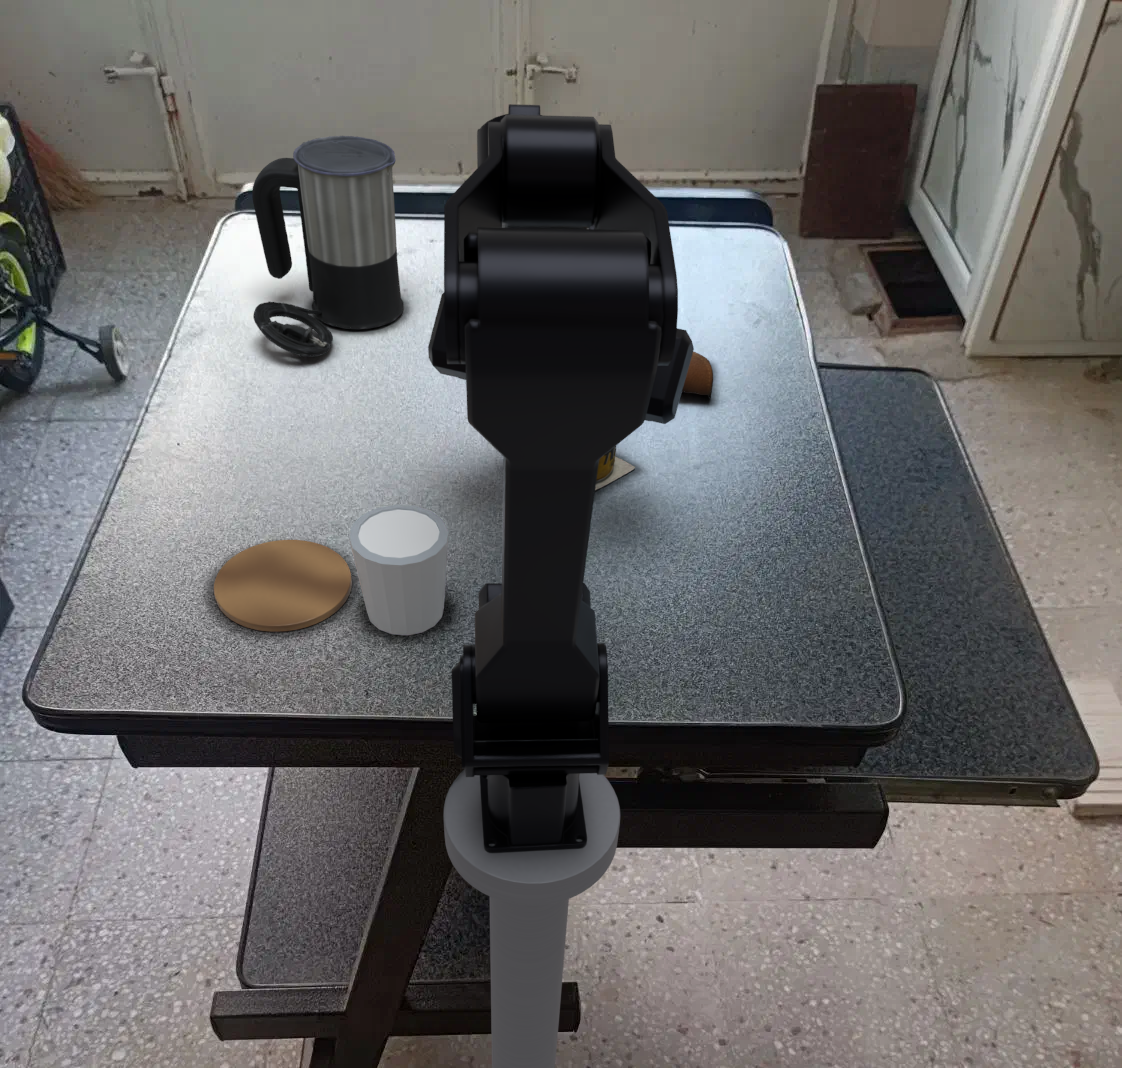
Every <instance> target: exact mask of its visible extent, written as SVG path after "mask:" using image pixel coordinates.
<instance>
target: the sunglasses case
mask: <svg viewBox="0 0 1122 1068" xmlns="http://www.w3.org/2000/svg"><path fill="white" fill-rule="evenodd" d="M713 386H714V371H713V367H712V364H711V362H710V360H709V359H708V358H707V357H706V356H704V355H702V354H700V353H698V352H696V351H694V350H693V354H692V357H691V361H690V364H689V368H688V372H687V375H686V379H685V382H684V386H683V390H682V393H687V394H696V395H700V396H707V397H708V398H709V399H710V400H711V399H712V393H713Z"/></svg>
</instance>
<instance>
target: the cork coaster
mask: <svg viewBox="0 0 1122 1068" xmlns="http://www.w3.org/2000/svg"><path fill="white" fill-rule="evenodd" d="M352 580H353V579H352V573H351V569H350V567H349V565H348V563H347V562H346V559H344V557H342V556H341V555H340V554H339V553H338V552H336V551H335V550H334V549H333V548H330V547H328V546H325V545H323V544H320V543H318V542H313V541H309V540H305V539H304V540H303V539H279V540H271V541H267V542H261V543H258V544H256V545H253V546H250V547H247V548H245V549H244V550H241V551H240V552H239V553H236V554H234V555H233V556H232V557H231V558H229V559H228V560H227V561H226V562H225V563H224V564H223V565H222V567H221V568H220V569H219V571H218V572H217V574H216V576H215V580H214V583H213V594H214V598H215V601H216V604H217V606H218V608H219V610H220V611H221V612H222V614H224V616H226V618H228V619H229V620H230V621H232V622H233V623H235V624H238V625H240V626H242V627H244V628H248V629H251V630H254V631H255V630H256V631H261V632H271V633H273V632H277V633H281V632H291V631H297V630H301V629H305V628H308V627H312V626H314V625H317V624H319V623H321V622H323V621H325V620H327V619H329V618H330V617H331V616H333V615H334V614H335V613H337V612H338V611H339V610H340V609H341V608H342V607H343V605H344V604H345V603H346V602H347V600H348V598H349V597H350V594H351V592H352V587H353V581H352Z"/></svg>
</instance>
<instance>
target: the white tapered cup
mask: <svg viewBox="0 0 1122 1068" xmlns="http://www.w3.org/2000/svg"><path fill="white" fill-rule="evenodd" d="M449 538H450V530H449V528H448V525H447V524H446V521H445V520H444V519H443V518H442V517H441V516H440V515H438V514H437V513H435V512H434V511H433V510H431V509H428V508H425V507H422V506H418V505H414V504H402V503H401V504H400V503H395V504H389V505H385V506H383V505H382V506H378V507H376V508H373V509H371V510H370V511H367V512H365V513H363V514H361V515H360V516H359V517H358V518H357V519H356V520H355V521H354V522H353V523H352V524H351V526H350V531H349V534H348V540H349V544H350V548H351V552H352V556H353V561H354V564H355V569H356V573H357V577H358V580H359V585H360V589H361V594H362V598H363V601H364V605H365V610H366V614H367V617H368V619H369V622H370V623H371V624H372V625H373V626H375V627H376V629H378V630H379V631H382V632H384V633H387V634H390V635H395V636H396V635H398V636H412V635H416V634H422V633H425V632H426V631H428V630H430V629H432V628H433V627H435V626H436V625H437V624H438V622H439V621H441V619H442V618H443V614H444V610H445V609H444V608H445V599H446V598H445V597H446V585H447V584H446V583H447V581H446V580H447V568H448V555H449V553H448V552H449Z"/></svg>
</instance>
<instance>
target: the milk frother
mask: <svg viewBox="0 0 1122 1068" xmlns="http://www.w3.org/2000/svg"><path fill="white" fill-rule="evenodd" d="M395 163H396V155H395V151H394V150H393V148H392V147H390V146H389V145H388V144H387V143H385V142H382V141H378V140H377V139H373V138H367V137H362V136H355V135H329V136H324V137H323V136H322V137H317V138H313V139H310V140H307V141H304V142H302V143H301V144H300V145H299V146H297V147H296V148H295V149H294V151H293V153H292V157H280V158H277V159H275V160H272V161H270V162H269V163H268V164H267V165H265V166H264V167H263V168H262V169H261V170H260V172H259V173H258V174H257V176H256V177H255V180H254V182H253V185H252V192H251V193H252V194H251V197H252V204H253V208H254V212H255V216H256V223H257V227H258V232H259V236H260V241H261V245H262V249H263V250H262V251H263V254H264V258H265V263H266V267H267V271H268V273H269V275H270V276H272V277H273V278H274V279H278V280H280V279H283V278H284V277H285V276H286V275H288V274H289V272H290V271H291V269H292V267H293V259H292V253H291V247H290V242H289V236H288V231H287V228H286V227H287V225H286V221H285V216H284V209H283V203H282V198H281V188H291V189H297V197H298V198H297V199H298V205H299V215H300V223H301V230H302V231H301V232H302V239H303V246H304V254H305V263H306V274H307V280H308V281H307V282H308V288H309V291H311V292H312V299H313V301H312V303H311V309H310V308H309V309H308V308H305V307H301V306H298V305H294V304H291V303H286V302H276V301H269V300H268V301H266V302H262V303H260V304H258V305H257V306H256V307H255V309H254V311H253V321H254V323H255V325H256V326H257V328H258V329H259V331H260V332H261V333H262V335H263V336H265V337H266V339H267V340H269V341H270V342H271V343H273V344H274V346H277V347H279V348H280V349H282V350H284V351H286V352H288V353H291V354H294V355H297V356H299V357H300V358H303V357H310V358H312V357H313V358H314V357H319V356H323V355H325V354H326V353H328V352H329V351H330V350H331V348H332V343H333V341H334V336H333V333H332V332H331V330H330V329H328V327H327V326H326V325H328V326H331V327H336V328H340V329H346V330H368V329H373V328H379V327H383V326H385V325H388V324H390V323H392V322H394V321H396V320H397V319H399V317H400V316H401V315H402V314H403V312H404V307H405V306H404V305H405V304H404V301H403V299H402V294H401V284H400V274H399V273H400V272H399V264H398V248H397V228H396V227H397V226H396V210H395V208H396V207H395V195H394V176H393V175H394V174H393V167H394V165H395ZM312 315H314V316H312ZM276 317H283V318H290V319H293V320H296V321H298V322H300V323H302V324H304V325H306V326H307V327H308V328H305V327H303V326H300V325H295V324H291V323H285V324H284V323H281V322H278V321H277V320H274V321H272V320H271V318H276ZM325 324H326V325H325ZM313 331H314V332H315V333H316V335H317V336H318V337H319V338H317V337H315V336H314V335H313Z"/></svg>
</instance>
